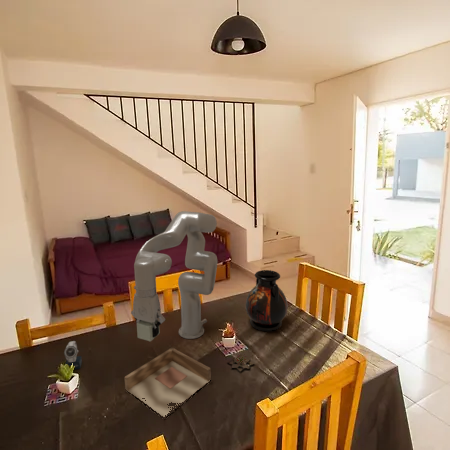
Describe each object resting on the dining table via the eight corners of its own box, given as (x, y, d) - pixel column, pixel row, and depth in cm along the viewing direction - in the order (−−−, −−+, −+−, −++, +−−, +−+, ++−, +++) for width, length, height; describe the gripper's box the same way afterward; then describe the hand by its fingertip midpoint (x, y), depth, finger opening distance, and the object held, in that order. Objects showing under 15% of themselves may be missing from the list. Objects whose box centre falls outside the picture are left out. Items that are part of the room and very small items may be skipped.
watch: (64, 373, 133) (61, 349, 131) (68, 361, 141) (66, 338, 139) (79, 371, 135) (77, 347, 132) (82, 359, 142) (80, 337, 140)
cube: (147, 330, 132) (146, 316, 130) (159, 333, 129) (158, 319, 128) (137, 337, 126) (136, 323, 125) (150, 341, 124) (149, 327, 123)
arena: (172, 359, 142) (172, 347, 141) (210, 381, 129) (210, 368, 128) (125, 390, 124) (124, 376, 123) (164, 419, 111) (163, 404, 109)
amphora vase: (238, 319, 177) (238, 270, 170) (271, 311, 186) (273, 264, 179) (258, 339, 158) (260, 285, 151) (295, 329, 167) (298, 278, 160)
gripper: (121, 290, 124) (124, 333, 128) (159, 299, 117) (161, 344, 121) (134, 283, 130) (137, 324, 135) (171, 291, 123) (172, 333, 128)
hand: (148, 333), depth 128 cm, fingers closed on cube, 6 cm apart
